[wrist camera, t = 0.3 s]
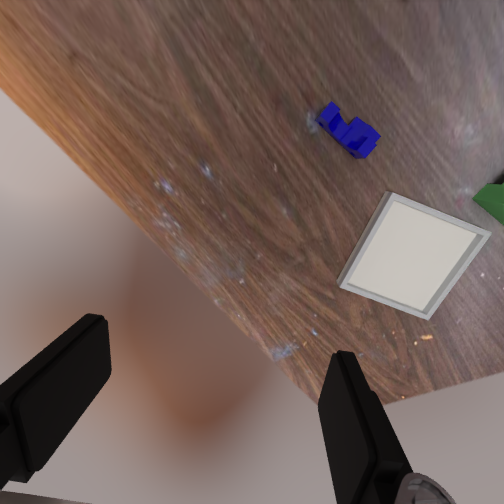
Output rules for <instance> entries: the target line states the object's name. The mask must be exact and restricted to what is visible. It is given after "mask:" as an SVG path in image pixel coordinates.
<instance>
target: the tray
mask: <svg viewBox="0 0 504 504" xmlns="http://www.w3.org/2000/svg"><path fill="white" fill-rule="evenodd" d="M491 234H492V233H491V232H489V231H486V230H484V229H481V228H479V227H477V226H474V225H472V224H469V223H467V222H464V221H462V220H459V219H457V218H454V217H452V216H449V215H447V214H445V213H442V212H440V211H437V210H435V209H432V208H430V207H427V206H425V205H422V204H420V203H417V202H415V201H413V200H410V199H408V198H405V197H403V196H400V195H398V194H395V193H393V192H388V191H385V193H384V195H383V197H382V199H381V200H380V202H379V204H378V206H377V208H376V210H375V211H374V213H373V215H372V217H371V219H370V221H369V222H368V224H367V226H366V228H365V230H364V231H363V233H362V235H361V237H360V239H359V241H358V242H357V244H356V246H355V248H354V250H353V252H352V253H351V255H350V257H349V259H348V261H347V262H346V264H345V266H344V268H343V270H342V272H341V273H340V275H339V277H338V279H337V281H336V282H337V283H338V285H339V287H340V288H343V289H346V290H348V291H351V292H354V293H356V294H359V295H362V296H364V297H367V298H370V299H373V300H375V301H378V302H381V303H383V304H386V305H389V306H391V307H394V308H397V309H399V310H402V311H405V312H407V313H410V314H413V315H415V316H418V317H421V318H423V319H426V320H429V318H430V317H431V316H432V314H433V313H434V312H435V310H436V309H437V308H438V306H439V305H440V303H441V302H442V301H443V299H444V298H445V297H446V295H447V294H448V293H449V291H450V290H451V289H452V287H453V286H454V284H455V283H456V282H457V280H458V279H459V278H460V276H461V275H462V274H463V272H464V271H465V269H466V268H467V267H468V265H469V264H470V263H471V261H472V260H473V259H474V257H475V256H476V254H477V253H478V252H479V250H480V249H481V248H482V246H483V245H484V244H485V242H486V241H487V240H488V238H489V237H490V235H491Z"/></svg>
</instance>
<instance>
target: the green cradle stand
mask: <svg viewBox="0 0 504 504" xmlns="http://www.w3.org/2000/svg"><path fill="white" fill-rule="evenodd" d="M472 199H473V200H474V201H475V202H476V203H478V204H479V205H480V206H481V207H482V208H484V209H485V210H486V211H487V212H488V213H490V214H491V215H492V216H493V217H494V218H495V219H497V220H498V221H499V222H500V223H501V224H503V225H504V183H503V184H502V185H499V184H486V185H485V186H484V187H483V188H482V189H481V190H480V191H479V192H478V193H477V194H476V195H475V196H474V197H473V198H472Z"/></svg>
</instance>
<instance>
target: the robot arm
mask: <svg viewBox="0 0 504 504" xmlns="http://www.w3.org/2000/svg"><path fill="white" fill-rule="evenodd" d="M108 331H109V330H108V321H107V320H105V318H104V316H102V315H97V314H90V313H89V314H86V315H84V316H83V317H82V318H81V319H79V320H78V321H77V322H76V323H75V324H74V325H72V326H71V327H70V328H69V329H68V330H66V331H65V332H64V333H63V334H61V335H60V336H59V337H58V338H57V339H55V340H54V341H53V342H52V343H50V345H48V346H47V347H46V348H44V349H43V350H42V351H41V352H40V353H38V354H37V355H36V356H35V357H34V358H33V359H31V360H30V361H29V362H28V363H27V364H25V365H24V366H23V367H21V368H20V369H19V370H18V371H17V372H15V373H14V374H13V375H12V376H11V377H9V378H8V379H7V380H6V381H5V382H3V383H2V384H1V385H0V504H89V503H83V502H76V501H70V500H63V499H57V498H50V497H43V496H37V495H30V494H23V493H15V492H7V491H2V488H3V487H4V486H5V485H6V484H7V482H8V481H9V480H10V481H16V482H22V483H27V482H28V481H29V479H30V478H31V477H32V475H33V474H34V473H35V471H39V470H41V469H42V468H43V466H44V465H45V464H46V463H47V461H48V460H49V459H50V457H51V456H52V455H53V453H54V452H55V450H56V449H57V448H58V447H59V445H60V444H61V442H62V441H63V440H64V439H65V437H66V436H67V434H68V433H69V432H70V430H71V429H72V428H73V426H74V425H75V424H76V422H77V421H78V419H79V418H80V417H81V415H82V414H83V413H84V411H85V410H86V409H87V407H88V406H89V405H90V403H91V402H92V401H93V399H94V398H95V397H96V395H97V394H98V393H99V391H100V390H101V389H102V387H103V386H104V384H105V383H106V382H107V380H108V379H109V377H110V375H111V370H112V368H111V357H110V356H111V355H110V344H109V332H108ZM318 412H319V417H320V422H321V426H322V432H323V437H324V442H325V446H326V452H327V457H328V462H329V466H330V471H331V476H332V481H333V486H334V491H335V496H336V501H337V504H456V503H455V501H454V500H453V498H452V497H451V496H450V495H449V494H448V492H446V490H445V489H444V488H442V487H441V486H440V485H439V484H438V483H437V482H435V481H434V480H432V479H431V478H429V477H428V476H425V475H422V474H420V473H414V472H413V470H412V468H411V466H410V464H409V462H408V460H407V457H406V455H405V453H404V451H403V449H402V447H401V445H400V443H399V440H398V438H397V436H396V434H395V432H394V430H393V428H392V425H391V423H390V421H389V419H388V417H387V415H386V413H385V410H384V408H383V406H382V404H381V402H380V400H379V398H378V396H377V394H376V393H375V392H374V391H371V390H370V387H369V385H368V383H367V381H366V379H365V376H364V374H363V372H362V370H361V367H360V365H359V363H358V361H357V359H356V356H355V354H354V353H353V352H348V351H341V350H338V351H337V353H333V354H332V357H331V360H330V364H329V367H328V371H327V374H326V377H325V381H324V384H323V387H322V391H321V394H320V398H319V401H318Z"/></svg>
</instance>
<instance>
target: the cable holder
mask: <svg viewBox="0 0 504 504" xmlns="http://www.w3.org/2000/svg"><path fill="white" fill-rule="evenodd" d="M339 111H340V109H339V108H338V107H337V106H336V105H335V104H334V103H333V102H332V101H331V102H330V103H329V104H328V105H327V106H326V107H325V108H324V109H323V110H322V112H321V113H320V114H319V115H318V117H317V118H316V119H315V121H316V122H317V123H318V124H319V125H320V126H321V127H322V128H323V129H324V130H326V131H327V132H328V133H329V134H330V135H331V136H332V137H333V138H334V139H335V140H336V141H337V142H338V143H339V144H340V145H342V146H343V147H344V148H345V149H346V150H347V151H348V152H349V153H350V154H351V155H352V156H353V157H354V158H355V159H359V158H366V157H367V156H368V154H369V153H370V152H371V151H372V150H373V149H374V148H375V147H376V146H377V145H376V144H375V142H376V141H377V140H378V139H379V138H380V137H381V136H380V135H379V134H378V133H377V132H376V131H375V130H374V129H373V128H372V127H371V126H370V125H368V124H366V123H365V122H363V121H362V120H360V119H359V118H358V117H355V118H354V119H353V120H352V121H351V122H350V123H349V124H348V125H347V124H346V123H345V122H344V120H343V119H342V118H341V116H340V113H339Z"/></svg>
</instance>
